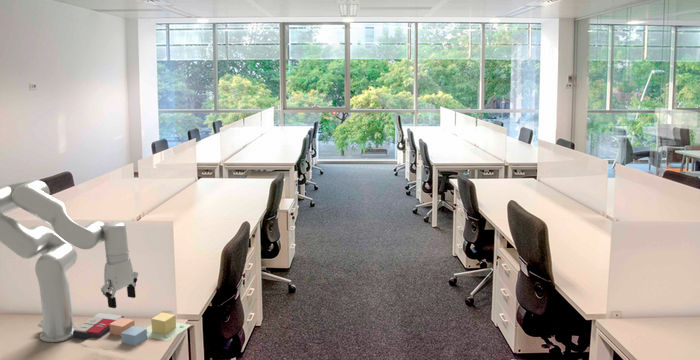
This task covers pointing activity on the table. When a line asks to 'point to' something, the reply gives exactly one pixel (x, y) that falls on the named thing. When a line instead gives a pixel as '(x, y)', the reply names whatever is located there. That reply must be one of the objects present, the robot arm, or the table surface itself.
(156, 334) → the build plate
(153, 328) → the ochre brick
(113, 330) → the terracotta brick
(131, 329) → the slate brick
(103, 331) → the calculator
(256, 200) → the table surface
